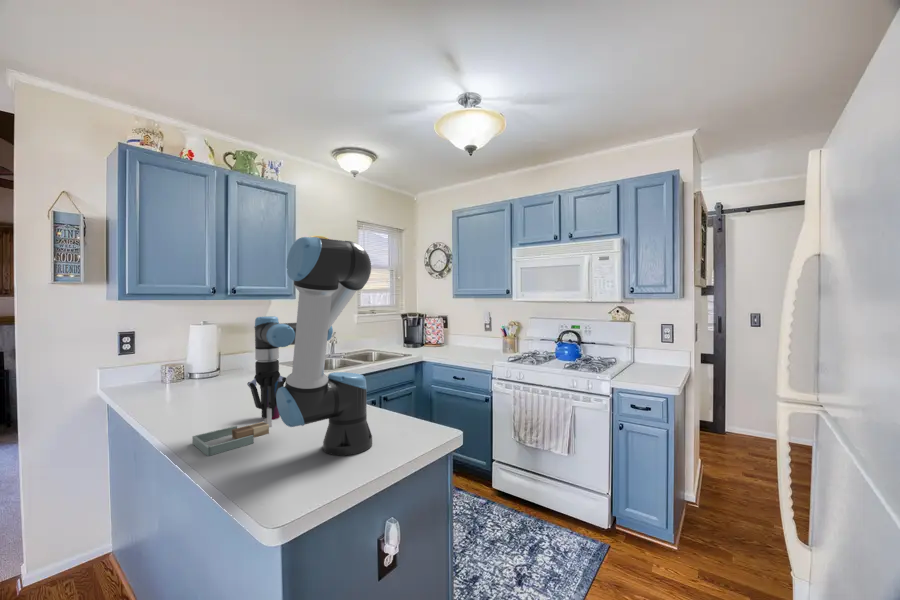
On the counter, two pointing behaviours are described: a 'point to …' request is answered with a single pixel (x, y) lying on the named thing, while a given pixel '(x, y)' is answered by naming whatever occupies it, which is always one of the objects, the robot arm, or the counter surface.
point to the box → (210, 450)
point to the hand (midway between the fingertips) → (268, 426)
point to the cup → (276, 412)
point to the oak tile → (260, 429)
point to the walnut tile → (242, 432)
